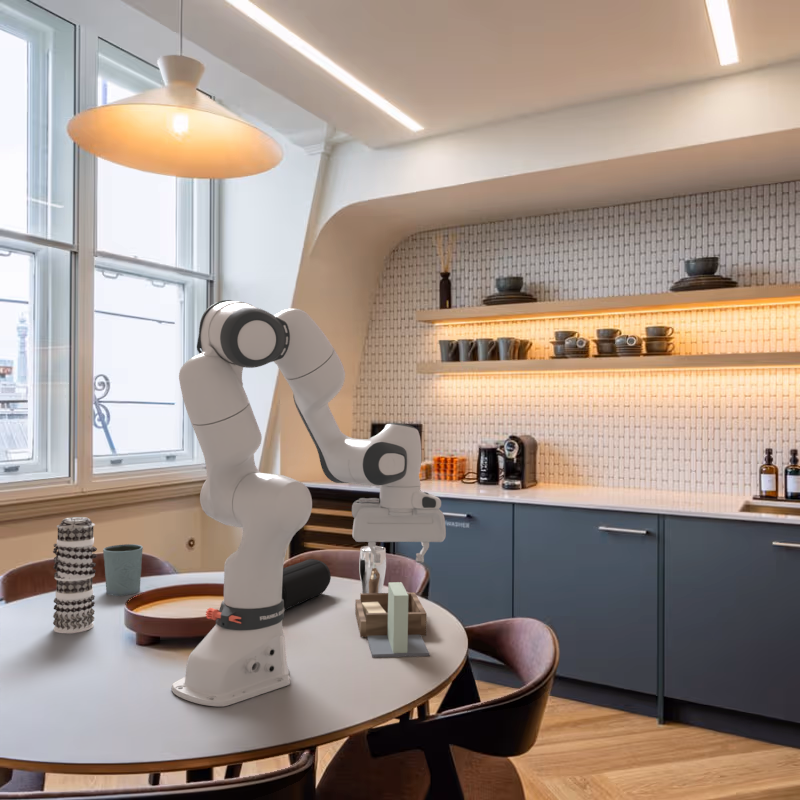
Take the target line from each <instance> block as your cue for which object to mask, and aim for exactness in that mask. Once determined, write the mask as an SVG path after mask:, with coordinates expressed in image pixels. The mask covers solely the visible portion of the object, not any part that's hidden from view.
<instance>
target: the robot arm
mask: <svg viewBox="0 0 800 800" xmlns="http://www.w3.org/2000/svg"><path fill="white" fill-rule="evenodd" d="M198 327H199V328H198V338H197V342H196V351H197V352H198V354H197V355H194V356H192V357H191V358H189V359H188V360H187V361H186V362H185V363H183V364H182V366H181V368H180V369H179V373H178V379H179V385H180V390H181V395H182V400H183V403H184V406H185V410H186V413H187V416H188V418H189V421H190V423H191V426H192V427H193V431H194V433H195V435H196V438H197V442H198V443H199V447H200V448H201V452H202V455H203V458H204V462H205V466H206V478H205V479H206V480H205V481H204V483H203V484H202V487H201V488H200V492H199V493H200V495H199V503H200V506H201V509H202V511H203V512H204V513H205V515H206V516H207V517H209V518H211V519H212V520H214V521H216V522H219V523H221V524H223V525H224V526H225V525H226V526H229V527H230V526H231V527H236V528H241V529H242V536H241V540H240V543H239V546H238V547H237V550H235V551H234V552H232V553H231V554H230V555H229V556H228V557H227V558H226V559H225V562H224V566H223V567H224V568H223V571H224V573H223V600H222V602H221V603H220V607H219V609H218V608H213V607H209V608H207V610H206V611H205V617H206V619H208V620H213V621H215V625H214V626H213V627H212V629H210V631H209V632H208V633H207V634H206V635H205V636H204V638H203V639H202V640H201V641H200V642H199V643H198V644H197V645H196V647H195V648H194V649H193V650H192V651H191V652H190V653H189V656H188V658H187V662H186V667H185V674H184V675H185V676H183V677H182V678H180V679H178V680H176V681H175V682H173V683H172V684H171V691H172V693H173V694H174V695H176V696H177V697H179V698H181V699H183V700H186V701H188V702H191V703H195V704H199V705H203V706H209V707H227V706H229V705H230V706H231V705H233V704H236V703H239V702H242V701H246V700H248V699H251V698H255V697H257V696H261V695H262V694H266V693H269V692H272V691H275V690H277V689H280V688H284V687H286V686H289V685H290V684H291V677H290V675H289V674H290V669H289V666H288V661H287V651H286V641H285V640H286V639H285V635H284V634H285V633H284V629H283V620H284V619H285V611H286V610H284V600H283V599H282V579H283V568H284V564H285V557H286V553H287V551H288V547H289V545H290V543H291V541H292V540H293V537H294V536H295V535H296V533H297V532H298V531H300V530H301V529H302V528H303V527H304V526H305V525H306V524H307V522H308V521H309V519H310V516H311V514H312V509H313V499H312V494H311V492H310V489H309V488H308V487H307V485H306V484H305V483H303V482H301V481H299V480H297V479H295V478H292V477H290V476H286V475H284V474H275V473H274V474H273V473H268V472H267V473H266V472H261V471H260V470H259V469H258V467H257V465H256V461H255V453H256V452H257V450H258V449H259V448H260V446H261V444H262V433H261V430H260V427H259V425H258V423H257V419H256V416H255V414H254V411H253V409H252V406H251V403H250V400H249V398H248V395H247V393H246V390H245V389H244V383H243V370H244V368H245V369H246V368H247V369H248V368H249V369H253V368H259V367H262V366H265V365H267V364H269V363H274V364H275V365H277V367H278V369H279V371H280V372H281V374H282V376H283V378H284V379H285V380H286V383H287V384H288V385H289V387H290V389H291V391H292V395H293V402H294V405H295V407H296V410H297V412H298V414H299V416H300V418H301V420H302V422H303V424H304V426H305V428H306V430H307V432H308V433H309V436H310V438H311V439H312V442H313V444H314V446H315V448H316V451H317V454H318V458H319V463H320V466H321V469H322V471H323V474H324V475H325V477H327V479H328V480H329V481H331V482H333V483H336V484H354V485H361V486H370V487H371V486H372V487H379V498H378V497H369V498H365V497H360V498H358V499H357V500H355V501H354V502H353V503H352V505H351V515H352V517H353V518H354V519H353V523H352V524H353V525H352V533H351V534H352V538H353V540H355V542H356V543H357V542H358V543H365V542H367V543H368V544H367V546H369V548H370V549H371V551H372V553H373V563H380V558H381V555H380V553H376V552H375V550H374V548H373V547H375V546H377V545H376V544H377V543H381V542H382V543H421V546H422V549H420V551H419V552H417V553H415V556H416V557H415V562H416V563H417V564H418V563H423V564H424V563H425V554H426V553H427V551H428V550H429V548H430V543H442V542H444V540H445V539H446V535H447V531H446V518H445V515H444V513H443V511H442V510H441V509H440V508H441V507H442V500H441V499H440V498H439V497H438V496H436V495H434V494H430V493H428V492H425V491H422V490H421V486H422V485H421V484H422V483H421V480H420V470H421V469H422V468H421V467H422V441H421V436H420V433H419V430H418V429H417V428H415V427H414V426H412V425H408V424H402V423H395V422H394V423H393V422H391V423H387V424H385V425H384V427H383V429H382V430H381V431H380V432H378V433H377V434H376V435H373V436H371V437H369V438H366V439H365V438H354V437H350V436H349V435H346V434H345V433H343V432H342V431H341V429H340V427H339V425H338V423H337V421H336V419H335V417H334V415H333V413H332V410H331V409H330V407H329V403H330V402H331V401H332V400H333V399H334V398H335V397H336V396H337V395H338V394H339V393H340V391H341V390H342V388H343V386H344V385H345V379H346V371H345V369H344V365H343V363H342V361H341V358H340V356H339V355H338V353H337V352H336V349H335V348H334V346H333V345H332V343H331V341H330V340H329V338H328V337H327V336H326V334H325V333H324V331H323V330H322V329H321V327H320V326H319V325H318V324H317V323H316V321H315V320H314V319H313V318H312V317H311V316H310V314H308V312H306V311H305V310H302V309H300V308H288V309H287V308H286V309H284V310H281V311H280V312H278V313H276V314H274V315H273V314H272V313H271V312H269V311H266V310H265V309H263V308H259V307H256V306H254V305H252V304H250V303H247V302H244V301H243V302H242V301H237V300H231V299H227V300H226V299H225V300H221V301H218V302H217V301H216V302H215V303H214V304H213V303H212V304H211V305H210V306H208V308H206V309H205V311H204V312H203V314H202V316H201V319H200V322H199V326H198Z"/></svg>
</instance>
